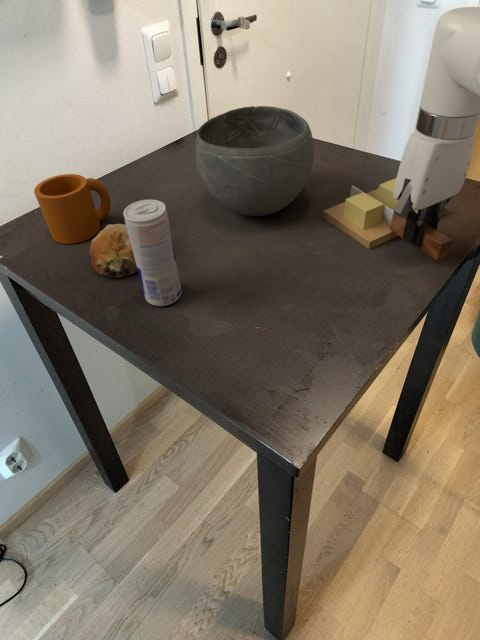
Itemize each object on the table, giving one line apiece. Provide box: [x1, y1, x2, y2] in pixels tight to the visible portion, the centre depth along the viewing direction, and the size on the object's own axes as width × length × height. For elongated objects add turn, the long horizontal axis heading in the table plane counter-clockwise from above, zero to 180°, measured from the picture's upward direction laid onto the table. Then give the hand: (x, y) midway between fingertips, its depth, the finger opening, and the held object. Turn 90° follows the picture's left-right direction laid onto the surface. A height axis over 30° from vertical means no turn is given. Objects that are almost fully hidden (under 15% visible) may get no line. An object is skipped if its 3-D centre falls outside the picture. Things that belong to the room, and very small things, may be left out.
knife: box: [349, 185, 453, 261], centre depth 76 cm, size 21×2×3 cm, turn 31°
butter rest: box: [377, 177, 399, 210], centre depth 82 cm, size 4×5×4 cm
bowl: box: [194, 105, 315, 217], centre depth 83 cm, size 21×21×15 cm
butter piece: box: [344, 191, 384, 230], centre depth 79 cm, size 4×5×4 cm
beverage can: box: [122, 199, 183, 307], centre depth 65 cm, size 6×6×15 cm
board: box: [322, 188, 448, 250], centre depth 83 cm, size 18×12×2 cm, turn 122°
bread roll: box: [88, 223, 138, 279], centre depth 76 cm, size 10×10×8 cm
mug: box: [33, 173, 112, 245], centre depth 82 cm, size 9×12×9 cm
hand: (418, 238), depth 73 cm, fingers closed on knife, 2 cm apart
